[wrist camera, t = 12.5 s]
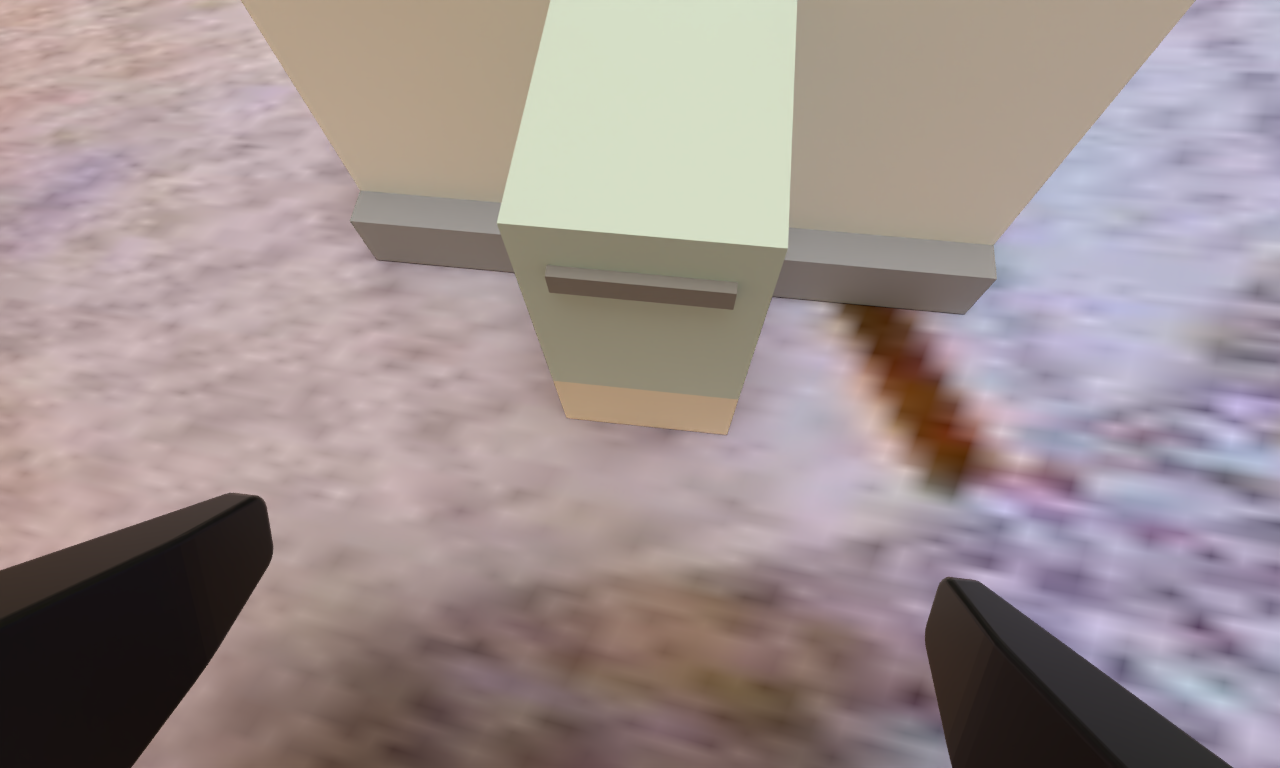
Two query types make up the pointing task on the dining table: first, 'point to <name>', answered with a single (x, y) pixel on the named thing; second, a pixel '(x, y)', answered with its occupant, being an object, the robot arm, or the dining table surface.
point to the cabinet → (653, 202)
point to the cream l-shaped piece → (821, 135)
